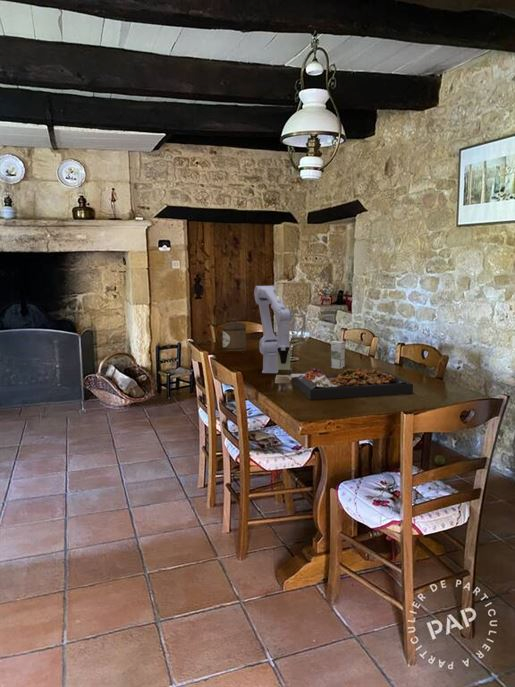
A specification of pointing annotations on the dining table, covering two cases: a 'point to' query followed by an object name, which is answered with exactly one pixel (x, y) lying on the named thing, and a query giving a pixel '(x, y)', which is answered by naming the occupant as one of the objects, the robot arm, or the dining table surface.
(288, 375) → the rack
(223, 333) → the brown lidded canister
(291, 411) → the dining table surface
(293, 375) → the mat
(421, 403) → the dining table surface
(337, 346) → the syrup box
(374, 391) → the food platter
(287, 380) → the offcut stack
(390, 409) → the dining table surface
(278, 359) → the grey green block
